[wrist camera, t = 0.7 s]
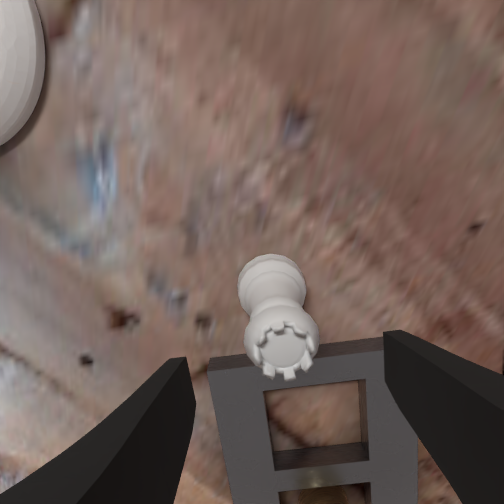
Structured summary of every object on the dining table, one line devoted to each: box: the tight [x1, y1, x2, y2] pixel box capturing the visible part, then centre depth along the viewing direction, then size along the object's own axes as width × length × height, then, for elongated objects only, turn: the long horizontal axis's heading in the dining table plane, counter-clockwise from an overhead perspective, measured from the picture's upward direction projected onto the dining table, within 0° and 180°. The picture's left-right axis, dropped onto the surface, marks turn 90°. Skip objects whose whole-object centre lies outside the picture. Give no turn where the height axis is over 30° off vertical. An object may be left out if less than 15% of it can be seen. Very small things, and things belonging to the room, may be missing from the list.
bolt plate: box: [207, 337, 418, 504], centre depth 20 cm, size 14×20×5 cm
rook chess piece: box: [237, 254, 320, 382], centre depth 15 cm, size 4×4×8 cm
